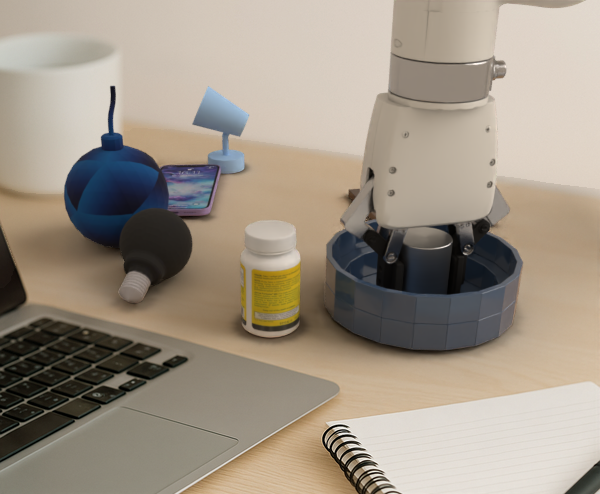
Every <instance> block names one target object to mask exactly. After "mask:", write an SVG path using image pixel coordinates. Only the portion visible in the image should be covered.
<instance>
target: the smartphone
mask: <svg viewBox="0 0 600 494" xmlns="http://www.w3.org/2000/svg"><path fill="white" fill-rule="evenodd" d="M159 168H160V169H161V171H162V172H163V174H164V177H165V179H166V182H167V186H168V191H169V204H168V210H169V211H171V212H173V213H175V214H177V215H178V216H179V217H189V216H190V217H191V216H193V217H194V216H206V215H209V214H210V213H211V211H212V207H213V203H214V201H215V196H216V193H217V188H218V184H219V180H220V177H221V169H220V166H219V165H215V164H208V163H207V164H206V163H205V164H165V165H162V166H160V167H159Z"/></svg>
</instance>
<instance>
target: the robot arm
mask: <svg viewBox="0 0 600 494" xmlns="http://www.w3.org/2000/svg"><path fill="white" fill-rule="evenodd" d="M585 1H586V0H393V7H392V8H393V9H392V22H391V39H390V53H389V67H388V69H389V70H388V84H387V85H388V86H387V92H381V93H380V92H379V93H378V94H376V97H375V101H374V104H373V108H372V112H371V116H370V120H369V124H368V128H367V135H366V139H365V146H364V151H363V157H362V158H363V159H362V166H361V174H360V182H359V183H360V184H359V189H360V192H359V194H358V195H357V196H356V198H355V199H354V200H352V202H351V203H350V204H349V206H348V207H347V208H346V210H345V211H344V212H343V213H342V215H341V216H340V218H339V224H340V225H341V227H343V229H346V230H347V231H348V232H350V233H351V234H353V235H354V236H356V237H357V238H359V239H361V240H362V241H364V242H365V243H366V244H367V245H368V246H369V247H371V248H372V249H373V250H374V251H375V252H376V253H377V254H378V260H377V276H376V285H377V286H380V287H383V288H386V289H392V290H398V291H402V285H403V273H404V264H403V263H402V262H401V261H400V260H399V254H400V251H401V248H402V245H403V242H404V239H405V236H406V233H407V230H408V228H418V227H429V226H439V225H445V226H446V233H448V234H449V235H450V236H451V237H452V239H453V243H452V252H451V261H450V270H449V279H448V288H447V295H450V294H459V293H460V290H461V285H463V283H464V279H465V271H466V262H467V256H468V255H470V254H472V253H473V251H474V249H475V244H476V243H477V242H478V241H479V240H480V239H481V238H482V237H483V236H484V235H485V234H486V233H487V232H490V230H491V227H494V226H495V225H497V224H498V223H499V222H500V221H502V220H503V219H505V217H507V216H508V215H509V214H510V211H511V208H510V205H509V204H508V202H507V200H506V199H505V197H504V196H503V194H502V193H501V191H500V190H499V187H498V186H497V173H498V158H499V157H498V156H499V133H498V132H499V131H498V117H497V106H496V99H495V97H494V96H492V95H491V94H490V92H491V91H492V86H493V81H496V79H503V78H505V76H506V74H507V63H506V62H505V60H501V59H500V60H497V59H496V56H495V48H496V47H495V46H496V39H497V38H496V37H497V31H498V22H499V14H500V7H502V6H504V5H506V4H508V5H509V4H511V5H519V6H520V5H521V6H529V7H530V6H531V7H537V8H544V9H562V8H568V7H569V8H570V7H572V6H576V5H578V4H581V3H583V2H585ZM370 212H374V213H376V221H377V223H378V224H379V225H378V229H377V231H376V230H374V229H373V228H372V227H371V226H370V225H368V224H366V223H365V221H366V220H367V217H368V215H369V214H370Z"/></svg>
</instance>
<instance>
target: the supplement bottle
mask: <svg viewBox="0 0 600 494" xmlns="http://www.w3.org/2000/svg"><path fill="white" fill-rule="evenodd" d="M243 237H244V238H243V239H244V240H243V241H244V248H243V250H242V251H241V253H240V258H239V266H240V267H239V269H240V270H239V272H240V275H239V277H240V311H241V312H240V313H241V314H240V316H241V325H242V328H243V329H244V330H245V331H246V332H249V333H250V334H252V335H254V336H257V337H262V338H280V337H284V336H287V335H289V334H292V333H293V332H295V331H296V330H297V329H298V327H299V326H300V321H301V270H302V269H301V266H302V264H301V263H302V262H301V260H302V259H301V258H302V257H301V254H300V252H299V250H298V249H297V248H296V247H297V243H298V240H297V228H296V226H295V225H294V224H293V223H290V222H288V221H285V220H279V219H261V220H256V221H254V222H251V223H249V224H248V225H246V226H245V227H244V236H243Z"/></svg>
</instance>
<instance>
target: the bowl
mask: <svg viewBox="0 0 600 494" xmlns="http://www.w3.org/2000/svg"><path fill="white" fill-rule="evenodd" d="M365 223H366V224H368V225H370V226H371V227H372V228H373V229H374V230H376V231H377V229H378V225H379V224H378V223H377V221H376V219H373V220H371V219H369V220H365ZM429 228H435V229H439V230H442V231H444V232H446V226H445V225H439V226H429ZM377 260H378V254H377V253H376V252H375V251H374V250H373V249H372V248H371V247H369V246H368V245H367V244H366V243H365V242H364V241H362V240H361V239H359V238H357V237H356V236H354V235H353V234H351V233H350V232H348V231H347V230H346V229H345V228H343V229H341V230H339V231H338V232H336V233H335V234H334V235H333V236H331V238H330V239H329V241H327V243H326V244H325V273H324V274H325V275H324V307H325V309H326V311H328V314H329V315H330V316H331V318H332V319H333V320H334V322H336V323H338V324H339V325H341V326H342V327H344V328H345V329H346V330H348V331H349V332H351V333H352V334H355V335H356V336H359V337H362V338H365V339H368V340H370V341H373V342H375V343H377V344H382V345H387V346H392V347H396V348H402V349H407V350H418V351H419V350H421V351H422V350H423V351H450V350H456V349H464V348H473V347H477V346H479V345H482V344H484V343H487V342H490V341H492V340H494V339H498V338H499V337H500V336H502V335H503V334H504V333H505V332H507V330H508V329H510V327H512V325H513V323H514V319H515V316H516V313H517V307H518V306H517V305H518V299H519V295H520V287H521V279H522V274H523V268H524V260H523V259H522V257H521V255H520V253H519V250H518V249H517V248H516V247H515V246H513V244H511V243H510V242H508V241H507V240H506V239H505V238H503V237H501V236H500V235H497V234H495V233H492V232H491V231H488V232H487V233H486V234H485V235H484V236H483V237H482V238H481V239H480V240H479V241H478V242H477V243H476V244H475V249H474V251H473V253H472V254H470V255H468V256H467V262H466V271H465V279H464V283H463V285H461V290H460V293H459V294H450V295H441V294H415V293H409V292H404V291H398V290H392V289H386V288H383V287H380V286H377V285H376V276H377Z"/></svg>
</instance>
